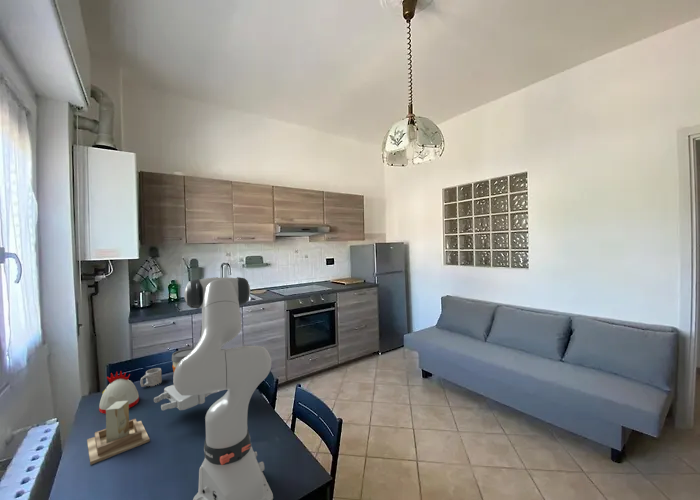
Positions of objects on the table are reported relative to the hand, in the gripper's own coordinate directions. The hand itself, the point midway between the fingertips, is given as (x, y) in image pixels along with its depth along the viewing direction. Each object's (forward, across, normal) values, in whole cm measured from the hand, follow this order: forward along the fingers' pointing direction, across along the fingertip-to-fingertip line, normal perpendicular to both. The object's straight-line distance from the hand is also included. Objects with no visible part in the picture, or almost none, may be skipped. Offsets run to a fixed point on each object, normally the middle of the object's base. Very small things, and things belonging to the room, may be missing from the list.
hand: (157, 404), depth 114 cm
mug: (-8, -46, +8) cm, 47 cm away
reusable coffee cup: (-21, -36, +9) cm, 43 cm away
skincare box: (+12, -2, +8) cm, 15 cm away
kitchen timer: (+7, -34, +8) cm, 35 cm away
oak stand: (+12, -2, +8) cm, 15 cm away
